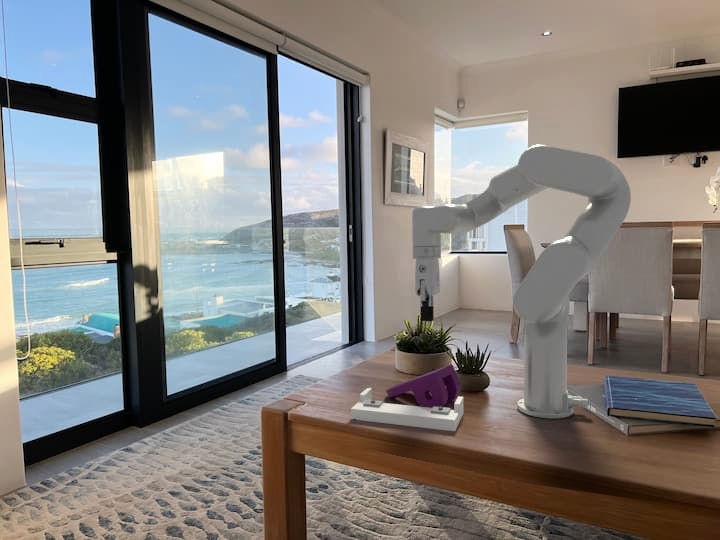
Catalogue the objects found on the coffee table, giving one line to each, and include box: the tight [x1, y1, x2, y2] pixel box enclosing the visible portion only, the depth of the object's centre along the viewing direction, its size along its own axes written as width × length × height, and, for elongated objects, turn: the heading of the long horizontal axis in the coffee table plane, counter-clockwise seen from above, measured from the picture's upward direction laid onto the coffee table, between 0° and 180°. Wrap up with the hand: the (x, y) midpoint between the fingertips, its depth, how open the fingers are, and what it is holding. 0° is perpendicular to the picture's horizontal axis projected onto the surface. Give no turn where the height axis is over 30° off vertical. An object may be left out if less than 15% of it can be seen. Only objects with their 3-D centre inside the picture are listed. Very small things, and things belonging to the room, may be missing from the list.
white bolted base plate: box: [350, 387, 464, 432], centre depth 119 cm, size 24×12×4 cm, turn 70°
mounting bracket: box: [385, 363, 462, 408], centre depth 130 cm, size 9×8×18 cm
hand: (427, 320), depth 138 cm, fingers closed
